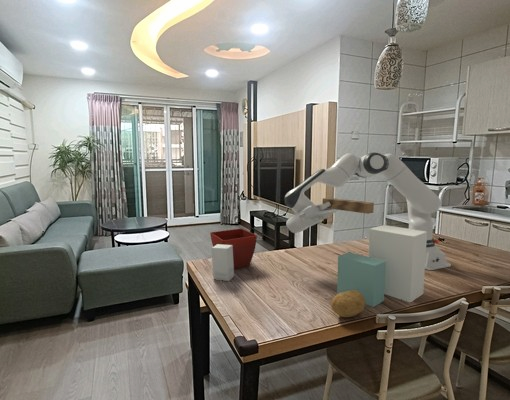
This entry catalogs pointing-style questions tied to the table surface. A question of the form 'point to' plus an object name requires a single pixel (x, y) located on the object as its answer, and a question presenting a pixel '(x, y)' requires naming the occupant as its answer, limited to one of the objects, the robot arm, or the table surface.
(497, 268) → the table surface
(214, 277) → the skincare box
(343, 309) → the potato
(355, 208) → the rail
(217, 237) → the plant pot
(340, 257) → the teal box
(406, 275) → the stand
